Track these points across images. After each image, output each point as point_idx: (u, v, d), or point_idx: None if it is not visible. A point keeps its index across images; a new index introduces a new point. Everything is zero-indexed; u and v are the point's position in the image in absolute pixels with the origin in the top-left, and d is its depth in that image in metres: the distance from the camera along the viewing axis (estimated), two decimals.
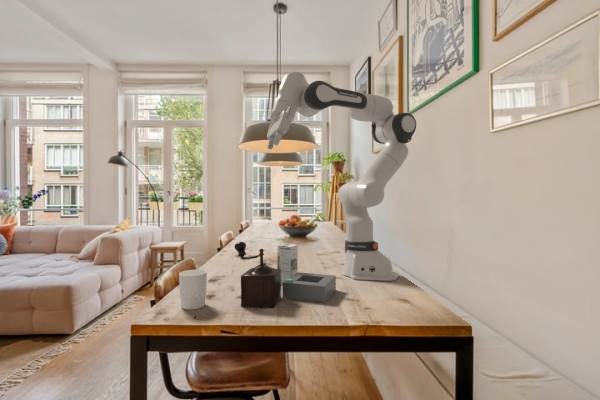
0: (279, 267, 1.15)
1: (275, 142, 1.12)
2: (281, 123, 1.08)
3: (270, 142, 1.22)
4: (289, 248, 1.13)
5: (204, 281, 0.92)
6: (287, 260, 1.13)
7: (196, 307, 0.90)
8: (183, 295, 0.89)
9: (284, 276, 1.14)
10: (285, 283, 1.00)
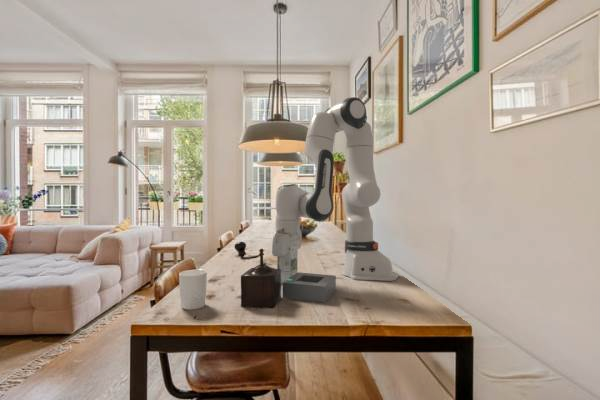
0: (279, 267, 1.15)
1: (281, 265, 1.13)
2: (272, 251, 1.08)
3: None
4: (289, 248, 1.13)
5: (204, 281, 0.92)
6: (287, 260, 1.13)
7: (196, 307, 0.90)
8: (183, 295, 0.89)
9: (284, 276, 1.14)
10: (285, 283, 1.00)
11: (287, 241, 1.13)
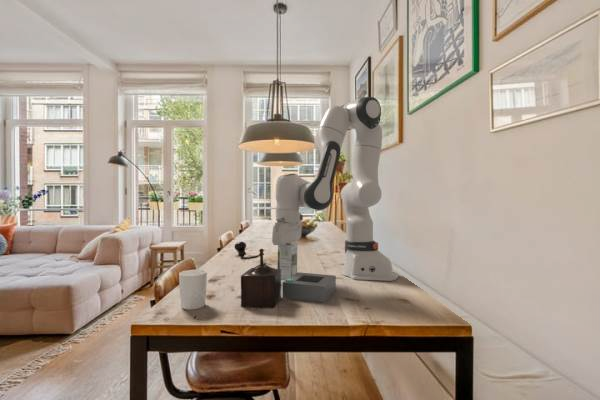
0: (279, 262, 1.15)
1: (282, 254, 1.13)
2: (273, 240, 1.08)
3: None
4: (290, 243, 1.13)
5: (204, 281, 0.92)
6: (287, 255, 1.14)
7: (196, 307, 0.90)
8: (183, 295, 0.89)
9: (284, 272, 1.14)
10: (285, 283, 1.00)
11: (287, 230, 1.13)
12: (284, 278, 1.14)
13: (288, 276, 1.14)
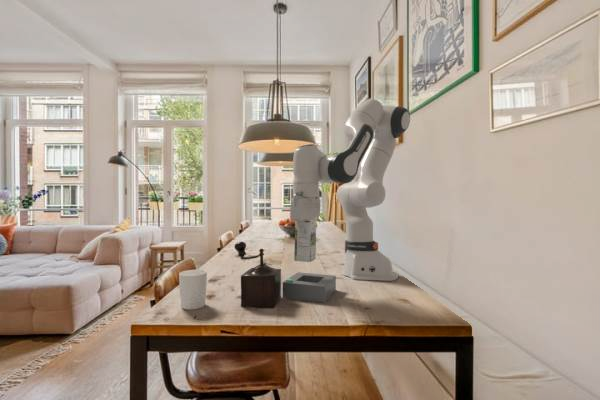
0: (297, 242, 1.04)
1: (300, 232, 1.02)
2: (291, 215, 0.97)
3: None
4: (309, 220, 1.03)
5: (204, 281, 0.92)
6: (306, 234, 1.03)
7: (196, 307, 0.90)
8: (183, 295, 0.89)
9: (302, 252, 1.03)
10: (285, 283, 1.00)
11: (306, 206, 1.02)
12: (302, 259, 1.03)
13: (306, 257, 1.03)
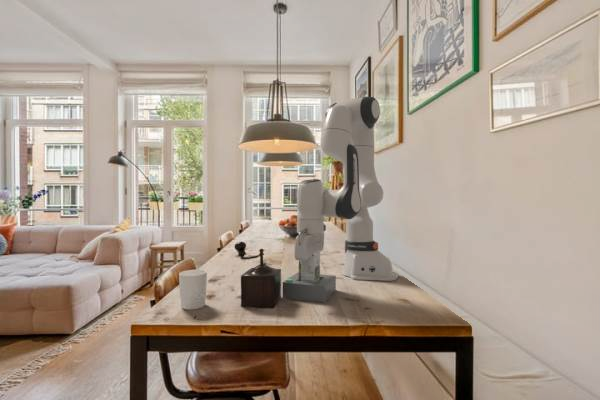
0: (301, 276, 1.02)
1: (304, 269, 1.00)
2: (295, 254, 0.95)
3: None
4: (313, 254, 1.00)
5: (204, 281, 0.92)
6: (310, 268, 1.01)
7: (196, 307, 0.90)
8: (183, 295, 0.89)
9: None
10: (285, 283, 1.00)
11: (310, 243, 1.00)
12: None
13: None
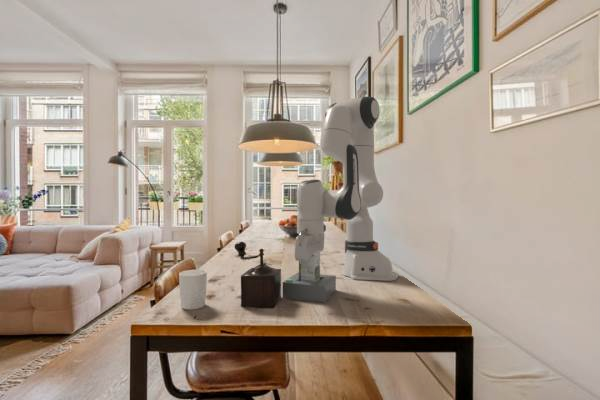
0: (301, 276, 1.02)
1: (303, 271, 0.99)
2: (295, 255, 0.95)
3: None
4: (313, 254, 1.00)
5: (204, 281, 0.92)
6: (310, 268, 1.01)
7: (196, 307, 0.90)
8: (183, 295, 0.89)
9: None
10: (285, 283, 1.00)
11: (311, 243, 1.00)
12: None
13: None
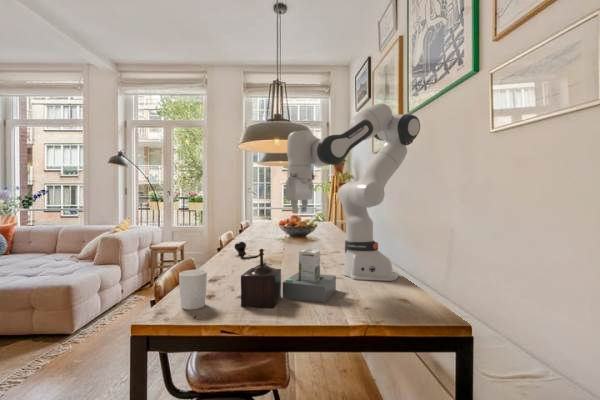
0: (301, 276, 1.02)
1: (293, 211, 1.08)
2: (286, 195, 1.04)
3: (303, 204, 1.18)
4: (313, 254, 1.00)
5: (204, 281, 0.92)
6: (310, 268, 1.01)
7: (196, 307, 0.90)
8: (183, 295, 0.89)
9: None
10: (285, 283, 1.00)
11: (300, 187, 1.09)
12: None
13: None
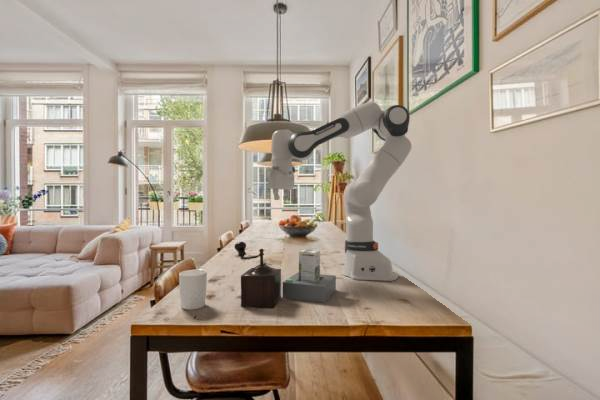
0: (301, 276, 1.02)
1: (275, 198, 1.29)
2: (268, 183, 1.25)
3: (285, 194, 1.39)
4: (313, 254, 1.00)
5: (204, 281, 0.92)
6: (310, 268, 1.01)
7: (196, 307, 0.90)
8: (183, 295, 0.89)
9: None
10: (285, 283, 1.00)
11: (281, 178, 1.30)
12: None
13: None
